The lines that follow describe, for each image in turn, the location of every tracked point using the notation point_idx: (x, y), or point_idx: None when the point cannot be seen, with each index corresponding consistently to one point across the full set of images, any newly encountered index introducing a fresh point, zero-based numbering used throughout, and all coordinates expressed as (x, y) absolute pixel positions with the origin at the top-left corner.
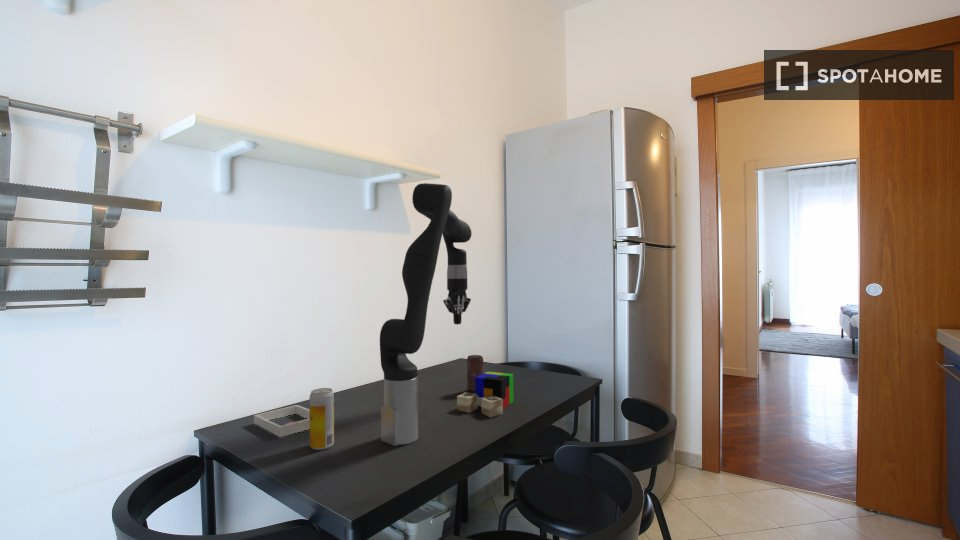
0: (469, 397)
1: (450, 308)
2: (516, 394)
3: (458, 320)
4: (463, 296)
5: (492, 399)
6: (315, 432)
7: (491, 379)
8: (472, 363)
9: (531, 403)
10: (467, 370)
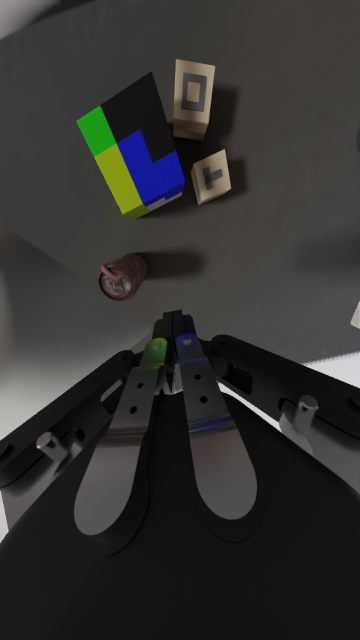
0: (221, 155)
1: (235, 382)
2: (73, 200)
3: (181, 316)
4: (103, 500)
5: (200, 77)
6: None
7: (165, 118)
8: (134, 270)
9: (75, 108)
10: (141, 282)
